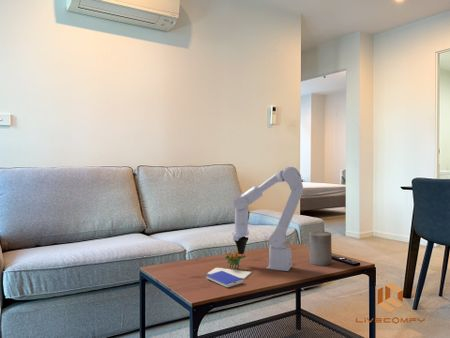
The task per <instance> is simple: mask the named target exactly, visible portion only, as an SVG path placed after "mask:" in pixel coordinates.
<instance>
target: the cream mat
mask: <svg viewBox="0 0 450 338" xmlns="http://www.w3.org/2000/svg"><path fill="white" fill-rule="evenodd" d="M219 271H224V272H227V273H229V274H232V275H234V276H236V277H239V278H242V279H243V280H245V279H246V278H247V277H249V275H250V274H252V271H250V270H249V271H246V270H239V269H233V268H230V269H228V268H223V267H214V268H213V269H211V270H210V271H208V272H207V273H206V275H208V274H212V273H216V272H219Z"/></svg>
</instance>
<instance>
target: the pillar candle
mask: <svg viewBox="0 0 450 338" xmlns="http://www.w3.org/2000/svg"><path fill="white" fill-rule="evenodd" d="M332 253H333V252H332V233H331V232H329V231H323V230H319V231H318V230H317V231H309V264H311V265H315V266H319V267H323V266H325V267H326V266H327V267H328V266H330V265H332V255H333V254H332Z"/></svg>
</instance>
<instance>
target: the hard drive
mask: <svg viewBox="0 0 450 338" xmlns="http://www.w3.org/2000/svg"><path fill="white" fill-rule="evenodd" d="M205 278H206V279H207V280H210V281H212V282H213V283H216V284H219V285H220V286H222V287H225V288H229V287H233V286H237V285H240V284H242V283H244V279H242V278H239V277H236V276H234V275H232V274H229V273H227V272H224V271H219V272H216V273H212V274H206V277H205Z"/></svg>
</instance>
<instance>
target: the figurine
mask: <svg viewBox="0 0 450 338" xmlns="http://www.w3.org/2000/svg"><path fill="white" fill-rule="evenodd" d="M246 257H247V256H246V255H245V254H240V255H239V253H238V249H237V248H236V249H235V252H234V253H231V252H229V253H227V254H226V256H225V258H224V260H226V262H225V264H229V268H227V269H235V270H239V267H240V261H241V260H242V259H245V258H246Z"/></svg>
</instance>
